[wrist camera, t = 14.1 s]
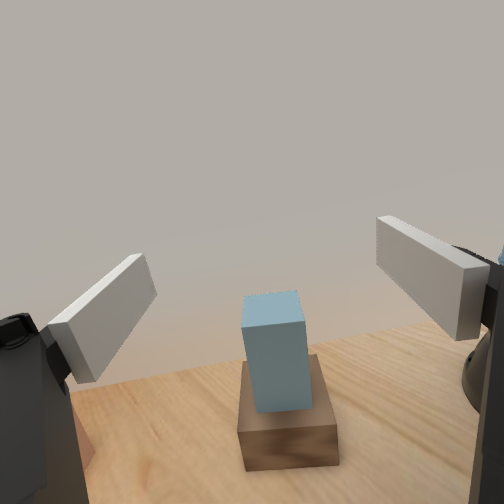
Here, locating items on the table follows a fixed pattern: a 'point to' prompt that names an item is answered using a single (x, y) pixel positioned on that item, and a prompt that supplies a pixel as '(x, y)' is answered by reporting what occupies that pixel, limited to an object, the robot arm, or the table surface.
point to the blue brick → (277, 352)
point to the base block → (288, 429)
